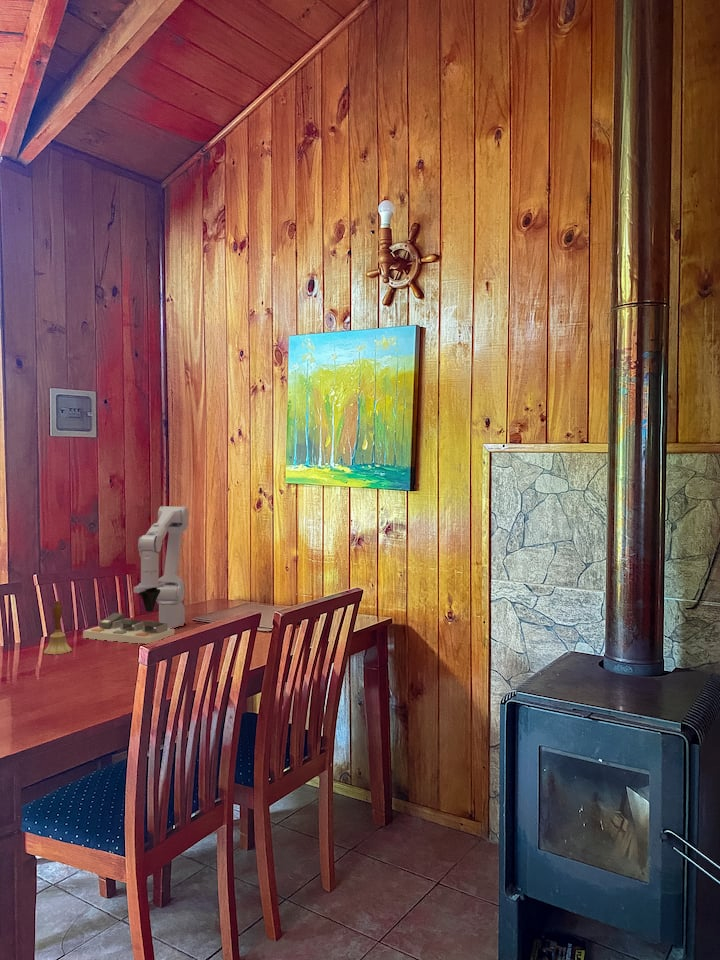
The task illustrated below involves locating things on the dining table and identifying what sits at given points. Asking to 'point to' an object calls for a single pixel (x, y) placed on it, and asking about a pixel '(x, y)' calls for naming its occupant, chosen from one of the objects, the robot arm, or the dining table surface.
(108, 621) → the rocker
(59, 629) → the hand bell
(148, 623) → the block
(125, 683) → the dining table surface
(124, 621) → the rocker middle
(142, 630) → the switch panel
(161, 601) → the robot arm
